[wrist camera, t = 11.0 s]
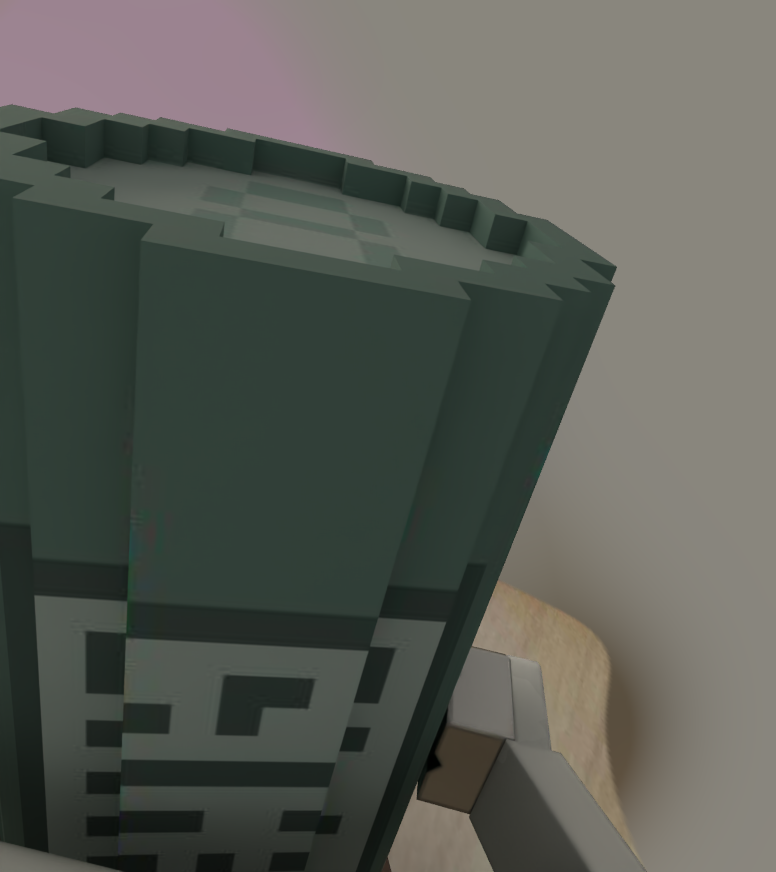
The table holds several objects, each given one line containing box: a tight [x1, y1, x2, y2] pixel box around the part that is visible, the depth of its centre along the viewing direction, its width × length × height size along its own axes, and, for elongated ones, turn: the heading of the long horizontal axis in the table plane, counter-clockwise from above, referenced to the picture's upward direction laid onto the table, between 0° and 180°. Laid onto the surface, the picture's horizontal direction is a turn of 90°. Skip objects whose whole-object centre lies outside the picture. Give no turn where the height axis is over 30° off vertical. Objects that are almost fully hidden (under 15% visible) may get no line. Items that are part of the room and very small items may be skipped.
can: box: [0, 105, 617, 872], centre depth 10 cm, size 6×6×15 cm
